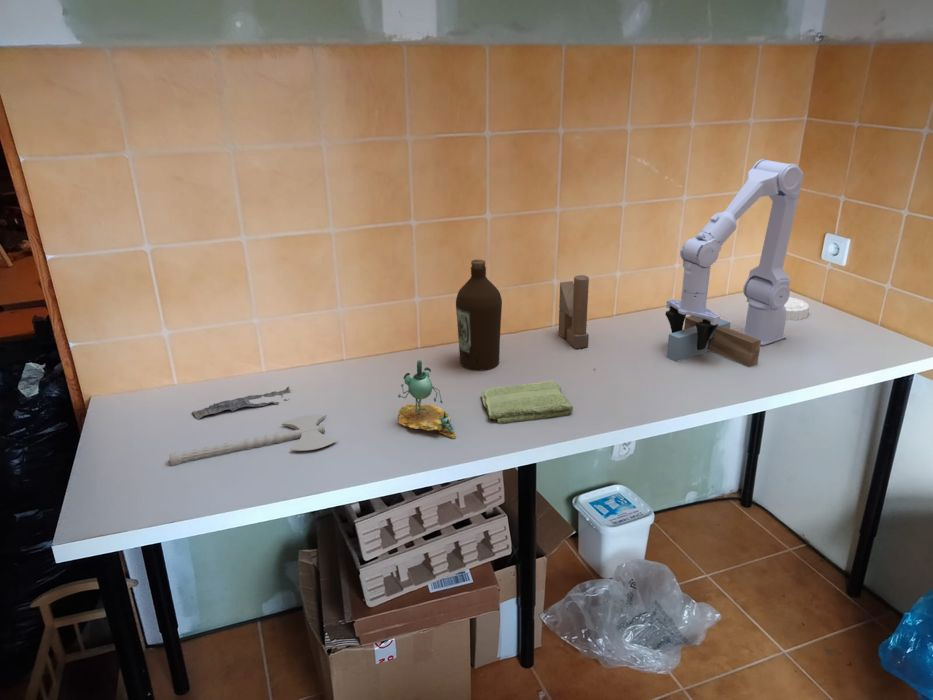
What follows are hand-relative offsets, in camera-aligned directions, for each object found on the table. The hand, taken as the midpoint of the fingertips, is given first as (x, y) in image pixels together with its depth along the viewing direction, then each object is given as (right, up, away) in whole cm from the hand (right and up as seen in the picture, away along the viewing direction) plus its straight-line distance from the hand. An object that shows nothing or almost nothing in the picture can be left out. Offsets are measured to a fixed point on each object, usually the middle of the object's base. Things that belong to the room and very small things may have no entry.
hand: (688, 343), depth 169 cm
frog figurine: (-62, -17, -28) cm, 70 cm away
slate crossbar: (+3, -2, +3) cm, 4 cm away
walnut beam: (+8, -2, +2) cm, 9 cm away
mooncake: (+34, +8, +26) cm, 44 cm away
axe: (-94, -21, -34) cm, 102 cm away
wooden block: (-26, +1, +10) cm, 28 cm away
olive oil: (-50, -5, -1) cm, 51 cm away
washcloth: (-41, -14, -22) cm, 49 cm away
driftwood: (-101, -14, -19) cm, 104 cm away
